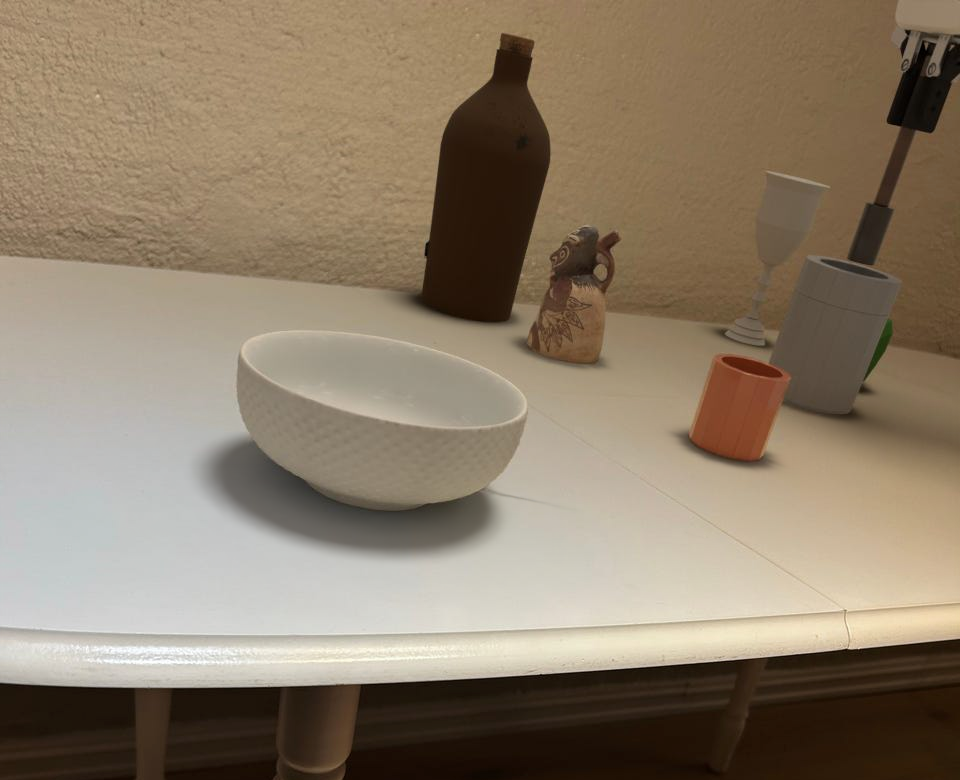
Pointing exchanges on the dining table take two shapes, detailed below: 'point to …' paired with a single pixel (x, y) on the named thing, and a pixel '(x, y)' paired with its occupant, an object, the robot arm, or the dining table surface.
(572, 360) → the figurine
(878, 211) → the brush
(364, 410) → the cereal bowl
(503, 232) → the olive oil
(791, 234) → the chalice
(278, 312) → the dining table surface
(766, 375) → the holder
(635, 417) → the dining table surface
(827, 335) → the gray cylindrical pot
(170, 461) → the dining table surface
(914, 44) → the robot arm
